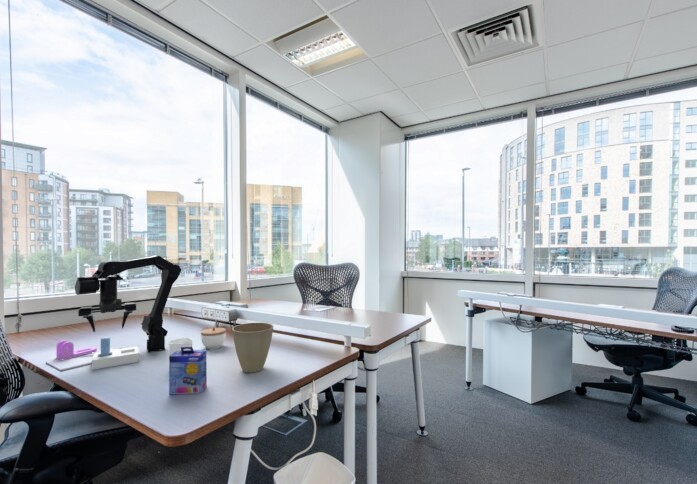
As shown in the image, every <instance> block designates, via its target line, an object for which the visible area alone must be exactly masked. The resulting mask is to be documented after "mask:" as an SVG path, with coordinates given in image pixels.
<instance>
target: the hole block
mask: <svg viewBox="0 0 697 484" xmlns="http://www.w3.org/2000/svg"><path fill="white" fill-rule="evenodd" d="M139 347H140V346H139V345H138V346H132V347H131V346H130V347H124V348H118V349H110V355H109V356H103V357H101V351H98V352H97V351H96V352H94V353H93V356H92V359H91V371H92V370H99V369H104V368H110V367H116V366H121V365H128V364H134V363H138V362H140V348H139Z"/></svg>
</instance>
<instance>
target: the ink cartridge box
mask: <svg viewBox="0 0 697 484" xmlns="http://www.w3.org/2000/svg"><path fill="white" fill-rule="evenodd" d="M183 349H191V350H183ZM168 357H169V358H168V363H169V364H168V368H169V369H168V370H169V371H168V372H169V373H168V375H169V376H168V382H169V383H168V395H199V394H202V393H203V391H204V390H206V388H207V386H208V385H207V382H208V381H207V377H208V376H207V374H208V373H207V370H208V369H207V367H208V366H207V349H205V350H204V349H203V350H202V349H201V350H199V349H198V350H194V348H193V346H192V347H181V351H176V352H174V353H173V354H172V355H170V354H169V356H168Z"/></svg>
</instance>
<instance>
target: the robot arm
mask: <svg viewBox="0 0 697 484" xmlns="http://www.w3.org/2000/svg"><path fill="white" fill-rule="evenodd" d="M148 266H149V267H151V266H155V267H156V268H157V269H158V270H159V271H160V272H161V276H160V278H161V284H160V285H159V288H158V291H157V294H156V298H155V299H154V303H153V305H152V309H151V311H150V313H149V314H148V315H144V316H143V320H142V322H141V323H140V325H141V330H142V331H143V333H145V334H146V336H148V338H147V339H146V350H147V352H148V353H152V352H158V351H163V350H164V351H165V350H166V346H165V345H166V344H165V343H166V341H165V340H166V338H165V337H167V335H168V330H167V329H165V328H164V327H163V324H164V319H163V316H164V315H163V314H164V311H165V308H166V305H167V302H168V299H169V296H170V293H171V290H172V288H173V285H174V283H175V282H176V281H177V280H178V278H179V276H180V275H181V273H182V268H181V266H180V265H179V264H174V263H173V262H171V261H169V260H167V259H165V258H164V257H162V256H160V255H152V256H149V257H141V258H135V259H129V260H118V261H117V260H107V261H105V260H104V261H101V262H100V263H99V264H98V266H97V269H96V271H95V272H94V273H93V274H92V275H91V276H85V277H83V276H77V277H76V281H75V285H74V292H75V295H76V296H81V295H92V294H96V293H97V292H99V304H98V305H99V307H93V306H92V305H90V306H82V307H80V308H79V309H78V317H82V319H86V320H87V321H88V322H89V324H90V327H91V330H92V331H93V333H95V332H96V325H95V318H94V313H101V314H105V313H115V312H116V311H123V312H122V313H123V314H122V315H123V316H122V322H121V329H124V327H125V324H126V321H127V318H128V317H129V315H130V314H132V313H133V311H134V312H135V311H137V303H136V302H134V301H133V302H125V303H124V304H122V302H123V301H122V298H118V281H123V280H124V277H122V276H121V275H120V274H121V273H123V272H126V271H128V270H132V269H137V268H143V267H148Z"/></svg>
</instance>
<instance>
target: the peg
mask: <svg viewBox="0 0 697 484" xmlns="http://www.w3.org/2000/svg"><path fill="white" fill-rule="evenodd" d="M110 350H111V337H109V336H108V337H102V338H100V352H101V357H103V356H109V355H110Z"/></svg>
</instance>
